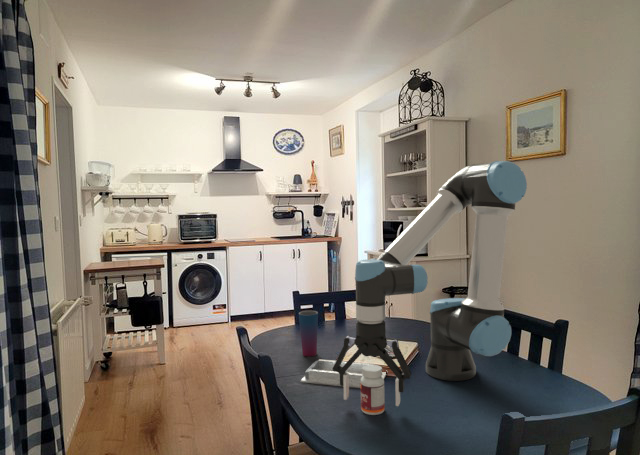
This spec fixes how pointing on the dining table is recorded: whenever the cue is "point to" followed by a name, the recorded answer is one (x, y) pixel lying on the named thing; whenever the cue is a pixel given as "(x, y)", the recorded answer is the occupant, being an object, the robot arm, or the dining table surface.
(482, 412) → the dining table surface
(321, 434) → the dining table surface
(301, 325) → the cup
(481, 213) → the robot arm
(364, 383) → the pill bottle
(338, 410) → the dining table surface
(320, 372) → the white shallow tray
